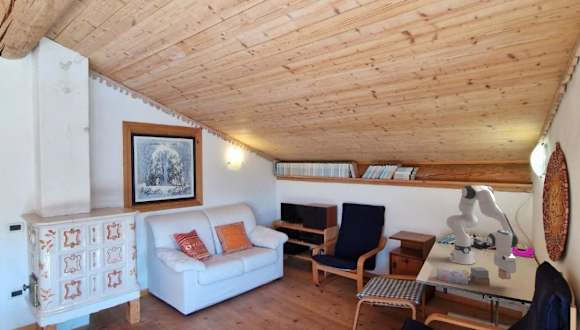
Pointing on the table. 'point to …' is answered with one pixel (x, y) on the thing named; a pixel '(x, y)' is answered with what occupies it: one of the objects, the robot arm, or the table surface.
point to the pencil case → (453, 275)
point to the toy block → (523, 252)
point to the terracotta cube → (502, 274)
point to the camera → (479, 243)
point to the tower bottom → (480, 280)
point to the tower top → (479, 272)
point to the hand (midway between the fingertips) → (504, 275)
